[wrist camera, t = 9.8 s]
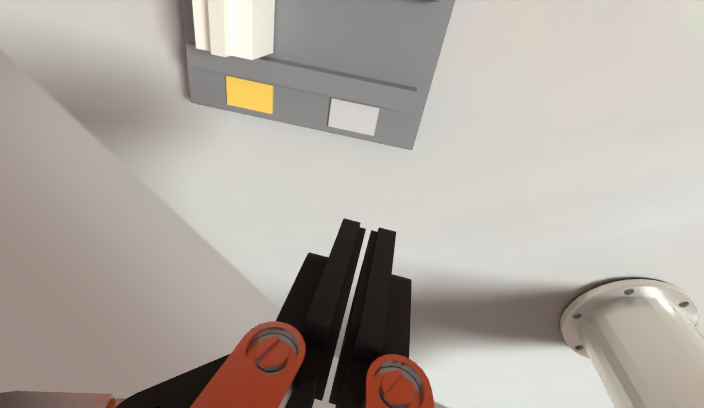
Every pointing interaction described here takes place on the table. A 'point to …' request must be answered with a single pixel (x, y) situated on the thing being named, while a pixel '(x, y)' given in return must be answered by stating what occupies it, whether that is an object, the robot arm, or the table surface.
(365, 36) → the switch panel
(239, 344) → the robot arm
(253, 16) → the switch tab
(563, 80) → the table surface
